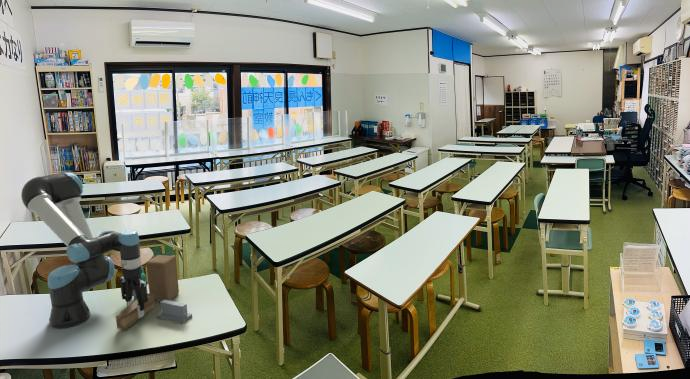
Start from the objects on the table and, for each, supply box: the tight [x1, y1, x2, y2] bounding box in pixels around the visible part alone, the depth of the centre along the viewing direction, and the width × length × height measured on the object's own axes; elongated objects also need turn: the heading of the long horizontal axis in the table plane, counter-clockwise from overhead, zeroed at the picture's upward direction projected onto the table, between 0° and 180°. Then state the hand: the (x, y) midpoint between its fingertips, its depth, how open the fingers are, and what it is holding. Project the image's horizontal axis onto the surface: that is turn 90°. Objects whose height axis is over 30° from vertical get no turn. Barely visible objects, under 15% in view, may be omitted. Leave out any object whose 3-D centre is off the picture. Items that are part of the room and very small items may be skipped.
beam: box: [115, 292, 155, 331], centre depth 189 cm, size 4×20×6 cm, turn 170°
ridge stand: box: [156, 300, 193, 325], centre depth 191 cm, size 14×6×7 cm, turn 70°
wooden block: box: [145, 254, 180, 302], centre depth 208 cm, size 10×10×20 cm
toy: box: [132, 267, 147, 301], centre depth 207 cm, size 9×8×15 cm
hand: (136, 315), depth 190 cm, fingers closed on beam, 5 cm apart
